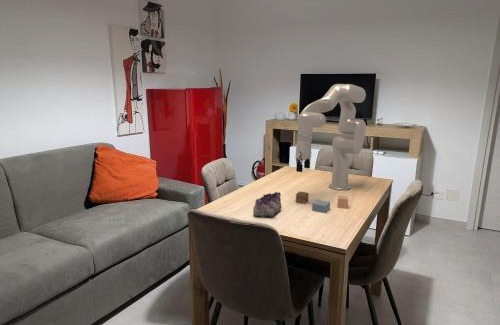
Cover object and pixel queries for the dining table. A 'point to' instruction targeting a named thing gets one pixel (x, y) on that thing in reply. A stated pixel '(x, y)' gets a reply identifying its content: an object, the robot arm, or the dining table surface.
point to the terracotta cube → (342, 202)
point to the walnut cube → (302, 197)
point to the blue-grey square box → (320, 206)
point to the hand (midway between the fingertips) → (303, 169)
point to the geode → (268, 205)
